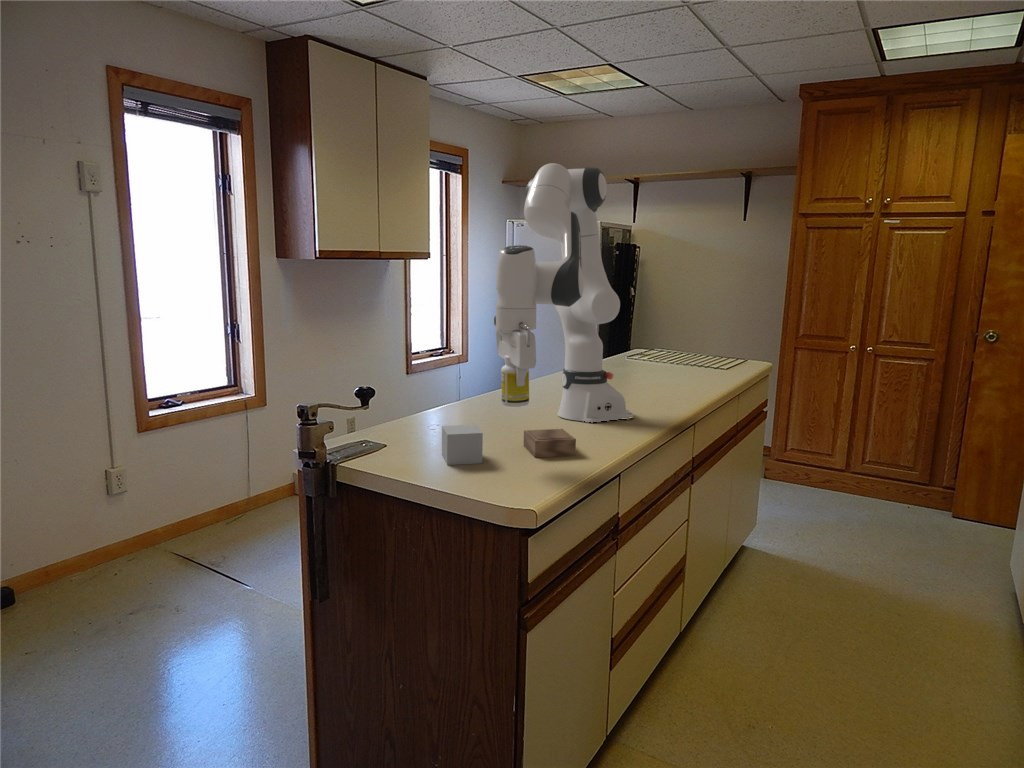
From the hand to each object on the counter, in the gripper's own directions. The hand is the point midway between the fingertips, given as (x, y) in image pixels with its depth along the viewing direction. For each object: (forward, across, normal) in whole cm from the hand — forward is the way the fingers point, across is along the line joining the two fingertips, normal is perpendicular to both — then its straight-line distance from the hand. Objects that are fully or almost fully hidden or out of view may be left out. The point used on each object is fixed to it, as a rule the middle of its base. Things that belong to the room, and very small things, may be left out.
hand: (515, 382), depth 148 cm
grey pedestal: (+18, +4, +12) cm, 22 cm away
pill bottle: (+5, 0, 0) cm, 5 cm away
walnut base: (+18, +7, -10) cm, 22 cm away
